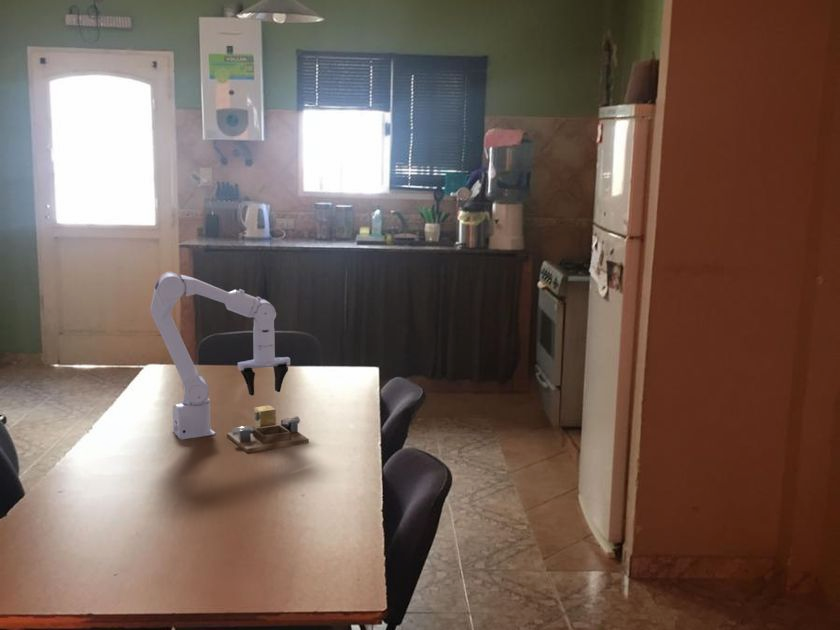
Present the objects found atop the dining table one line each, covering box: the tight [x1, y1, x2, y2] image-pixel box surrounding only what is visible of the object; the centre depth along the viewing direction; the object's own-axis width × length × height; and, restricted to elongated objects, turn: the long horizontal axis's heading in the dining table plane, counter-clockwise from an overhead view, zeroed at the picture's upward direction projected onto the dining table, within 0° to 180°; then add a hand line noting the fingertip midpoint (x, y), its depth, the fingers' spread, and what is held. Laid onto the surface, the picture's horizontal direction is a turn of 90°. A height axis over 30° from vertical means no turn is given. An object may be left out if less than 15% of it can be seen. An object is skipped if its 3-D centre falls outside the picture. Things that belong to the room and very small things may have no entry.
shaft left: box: [231, 425, 256, 443], centre depth 226 cm, size 6×4×4 cm, turn 110°
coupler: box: [253, 405, 277, 428], centre depth 241 cm, size 5×4×6 cm
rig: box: [226, 424, 309, 454], centre depth 230 cm, size 17×15×3 cm
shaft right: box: [280, 416, 301, 434], centre depth 234 cm, size 5×4×4 cm
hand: (264, 392), depth 240 cm, fingers open, 7 cm apart
